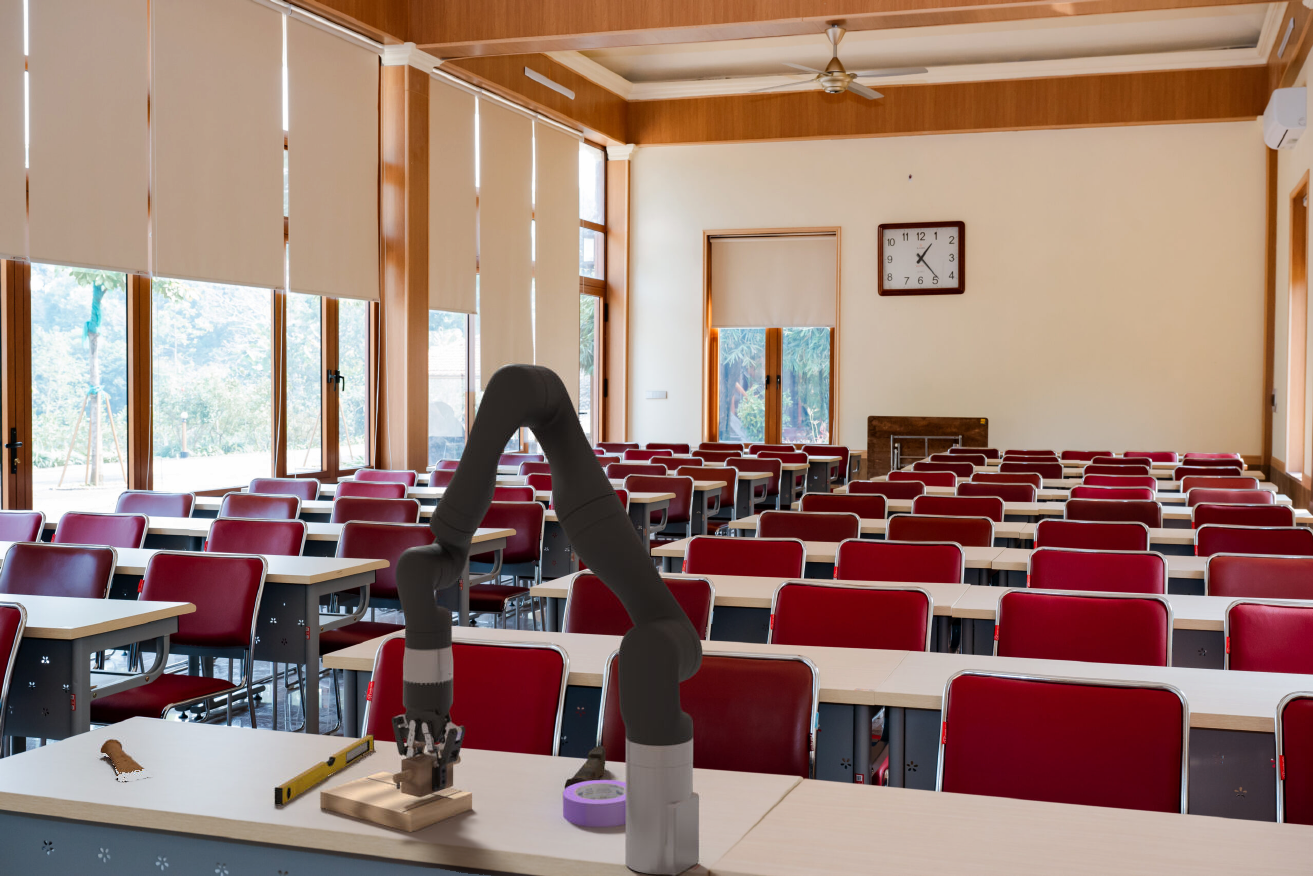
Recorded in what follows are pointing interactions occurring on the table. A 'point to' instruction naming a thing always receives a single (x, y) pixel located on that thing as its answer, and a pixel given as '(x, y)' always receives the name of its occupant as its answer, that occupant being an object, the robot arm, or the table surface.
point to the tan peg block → (420, 775)
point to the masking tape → (595, 803)
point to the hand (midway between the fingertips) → (427, 786)
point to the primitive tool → (119, 757)
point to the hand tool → (590, 767)
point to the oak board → (393, 803)
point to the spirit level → (323, 769)
